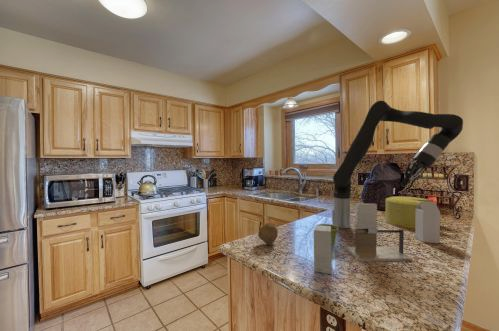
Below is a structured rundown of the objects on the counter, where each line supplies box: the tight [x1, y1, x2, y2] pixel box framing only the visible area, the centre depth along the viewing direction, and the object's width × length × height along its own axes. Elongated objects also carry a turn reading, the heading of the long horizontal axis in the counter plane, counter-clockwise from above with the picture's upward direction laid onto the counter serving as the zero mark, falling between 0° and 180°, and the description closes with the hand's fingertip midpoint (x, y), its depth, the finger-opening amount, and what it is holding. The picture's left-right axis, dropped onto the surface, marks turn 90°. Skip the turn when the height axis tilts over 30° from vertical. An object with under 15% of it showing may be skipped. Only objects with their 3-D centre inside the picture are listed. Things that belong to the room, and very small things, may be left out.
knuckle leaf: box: [354, 203, 378, 234], centre depth 94 cm, size 8×3×12 cm, turn 90°
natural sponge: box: [257, 222, 279, 246], centre depth 105 cm, size 9×9×10 cm
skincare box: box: [313, 224, 333, 275], centre depth 83 cm, size 8×6×15 cm
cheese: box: [384, 195, 435, 229], centre depth 142 cm, size 26×26×15 cm
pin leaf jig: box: [345, 228, 414, 262], centre depth 94 cm, size 21×12×11 cm, turn 90°
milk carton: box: [414, 201, 441, 244], centre depth 111 cm, size 7×7×19 cm
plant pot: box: [318, 223, 340, 248], centre depth 104 cm, size 9×9×9 cm
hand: (402, 185), depth 104 cm, fingers closed
